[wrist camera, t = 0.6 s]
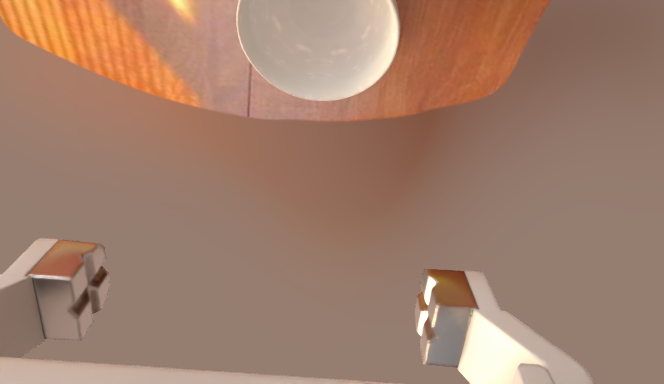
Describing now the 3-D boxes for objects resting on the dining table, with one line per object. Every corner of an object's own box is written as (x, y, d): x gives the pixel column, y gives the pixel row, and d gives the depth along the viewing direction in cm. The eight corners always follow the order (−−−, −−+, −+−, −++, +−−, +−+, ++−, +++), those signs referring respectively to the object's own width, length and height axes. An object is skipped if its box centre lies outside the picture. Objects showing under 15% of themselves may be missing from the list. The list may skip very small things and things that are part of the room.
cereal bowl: (430, 6, 56) (434, 42, 52) (325, 89, 66) (320, 125, 61) (320, -118, 48) (313, -89, 43) (217, -3, 57) (202, 30, 53)
